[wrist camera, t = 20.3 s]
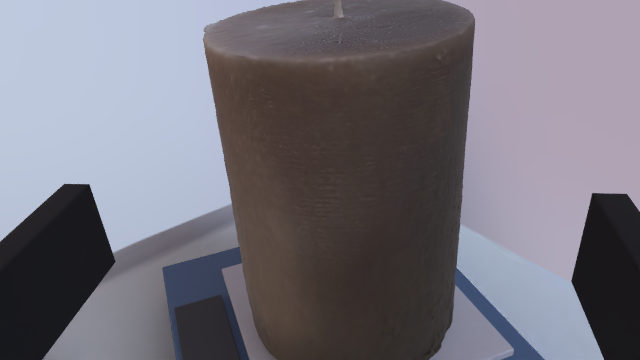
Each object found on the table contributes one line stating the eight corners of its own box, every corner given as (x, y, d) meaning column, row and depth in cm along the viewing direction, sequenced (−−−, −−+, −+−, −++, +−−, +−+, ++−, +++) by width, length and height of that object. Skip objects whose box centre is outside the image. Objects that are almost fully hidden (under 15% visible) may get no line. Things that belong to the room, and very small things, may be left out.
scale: (396, 235, 34) (396, 199, 33) (542, 404, 23) (553, 359, 21) (171, 299, 30) (160, 261, 29) (211, 543, 19) (196, 500, 17)
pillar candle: (476, 382, 21) (529, -3, 13) (237, 393, 21) (157, 22, 13) (429, 238, 29) (446, -46, 22) (260, 248, 29) (217, -31, 22)
